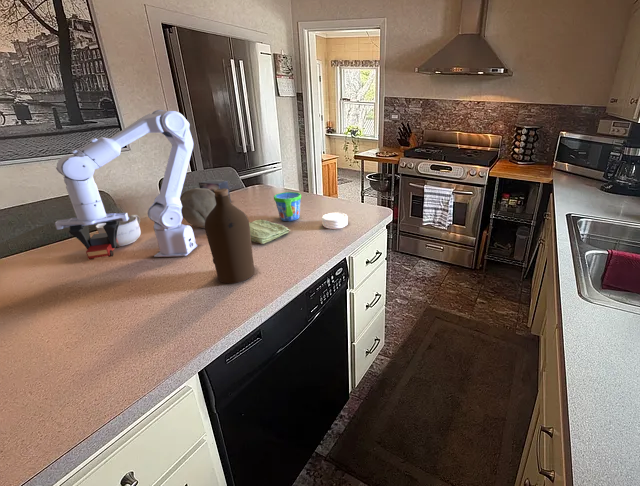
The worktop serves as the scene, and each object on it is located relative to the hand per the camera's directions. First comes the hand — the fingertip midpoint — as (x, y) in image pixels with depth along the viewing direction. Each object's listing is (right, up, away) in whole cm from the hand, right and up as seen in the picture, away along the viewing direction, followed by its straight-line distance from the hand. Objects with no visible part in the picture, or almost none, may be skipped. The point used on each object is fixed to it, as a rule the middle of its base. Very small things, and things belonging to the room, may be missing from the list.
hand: (103, 248), depth 90 cm
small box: (-3, +16, +63) cm, 65 cm away
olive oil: (+36, -8, +2) cm, 37 cm away
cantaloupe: (+7, +5, +35) cm, 36 cm away
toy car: (0, -1, +1) cm, 2 cm away
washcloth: (+32, +2, +29) cm, 43 cm away
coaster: (+57, +6, +39) cm, 69 cm away
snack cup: (+37, +8, +45) cm, 59 cm away
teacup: (-12, 0, +22) cm, 25 cm away
